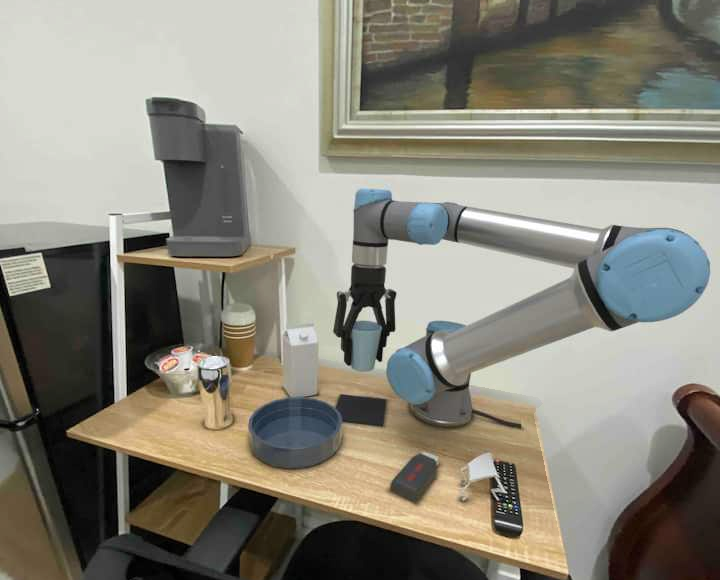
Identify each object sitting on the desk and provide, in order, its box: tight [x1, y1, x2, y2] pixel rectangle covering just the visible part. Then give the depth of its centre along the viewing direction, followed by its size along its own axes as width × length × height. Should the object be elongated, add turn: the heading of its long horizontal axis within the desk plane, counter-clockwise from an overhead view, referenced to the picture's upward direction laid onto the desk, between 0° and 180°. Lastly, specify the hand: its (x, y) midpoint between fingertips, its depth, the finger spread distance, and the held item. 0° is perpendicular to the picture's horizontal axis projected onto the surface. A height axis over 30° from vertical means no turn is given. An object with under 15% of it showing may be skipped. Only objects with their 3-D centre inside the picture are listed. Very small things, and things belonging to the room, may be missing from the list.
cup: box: [349, 320, 382, 373], centre depth 91 cm, size 8×8×10 cm
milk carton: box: [282, 322, 319, 398], centre depth 101 cm, size 7×7×19 cm
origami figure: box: [457, 452, 507, 501], centre depth 73 cm, size 12×8×5 cm
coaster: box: [335, 393, 387, 427], centre depth 97 cm, size 12×12×1 cm
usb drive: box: [390, 450, 439, 504], centre depth 74 cm, size 5×12×3 cm, turn 146°
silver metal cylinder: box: [196, 355, 234, 430], centre depth 86 cm, size 7×7×15 cm
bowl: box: [247, 396, 344, 469], centre depth 83 cm, size 19×19×5 cm
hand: (363, 361), depth 92 cm, fingers closed on cup, 7 cm apart
